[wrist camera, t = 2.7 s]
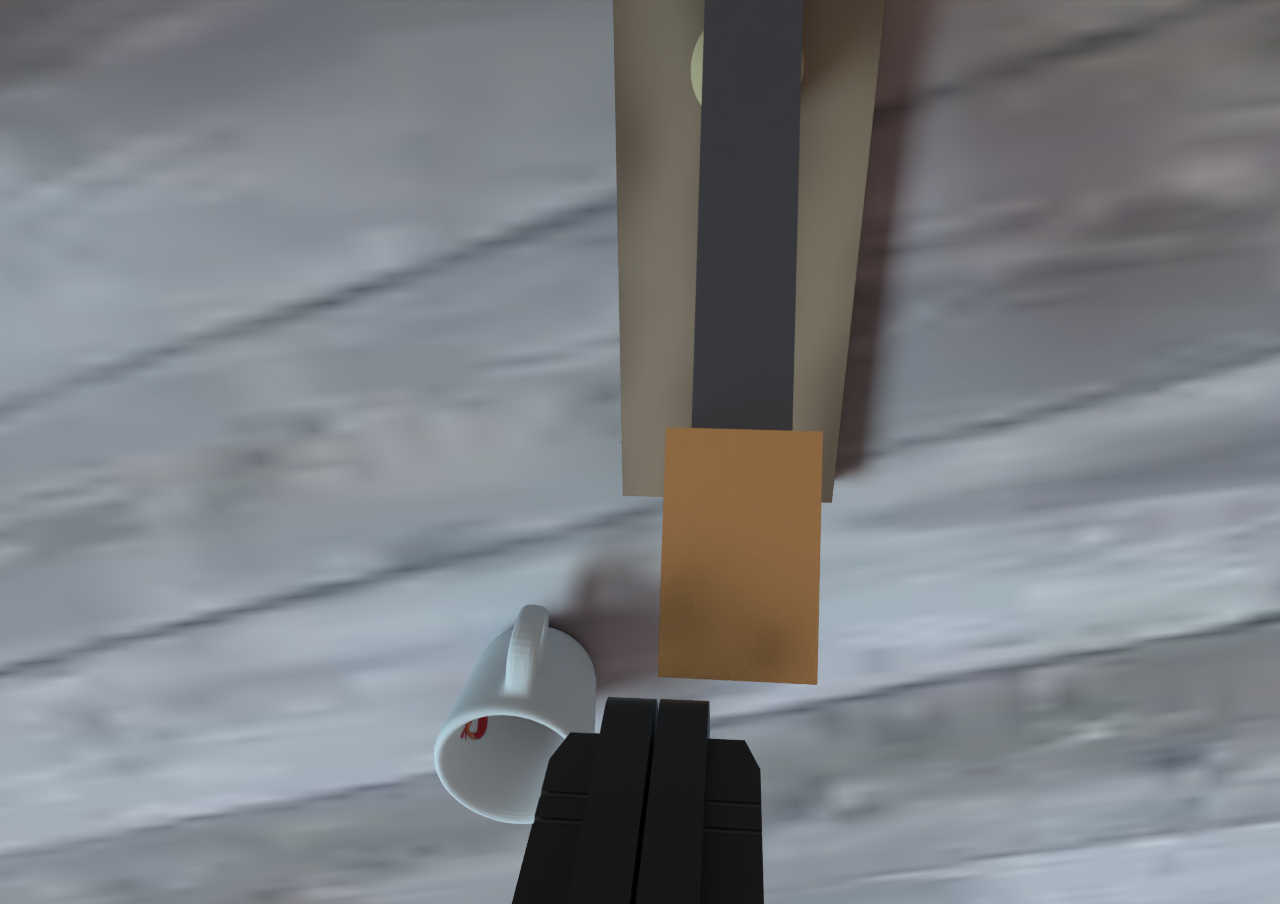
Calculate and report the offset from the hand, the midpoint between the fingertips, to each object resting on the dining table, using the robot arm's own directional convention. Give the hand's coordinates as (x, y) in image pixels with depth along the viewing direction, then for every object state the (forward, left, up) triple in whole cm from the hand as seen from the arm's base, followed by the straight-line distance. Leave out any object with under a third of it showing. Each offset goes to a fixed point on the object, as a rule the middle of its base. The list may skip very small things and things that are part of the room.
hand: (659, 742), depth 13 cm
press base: (+2, +2, -29) cm, 29 cm away
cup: (-8, -22, -29) cm, 37 cm away
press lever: (+2, +2, -18) cm, 18 cm away
